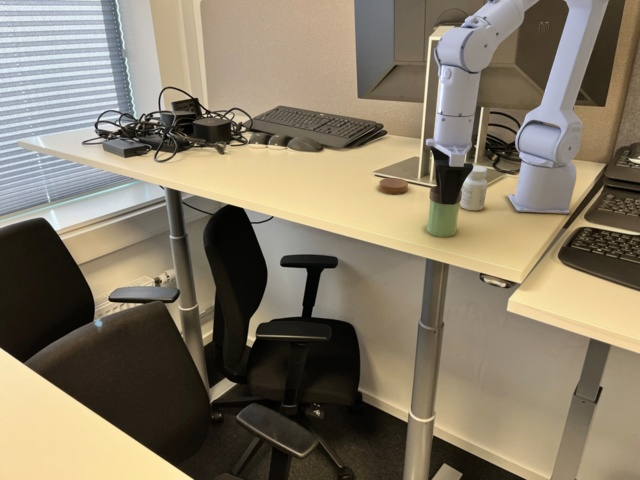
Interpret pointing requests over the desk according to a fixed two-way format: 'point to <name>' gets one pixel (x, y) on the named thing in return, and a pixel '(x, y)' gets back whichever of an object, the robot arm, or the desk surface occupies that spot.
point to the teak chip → (393, 186)
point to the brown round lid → (436, 195)
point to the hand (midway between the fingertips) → (445, 195)
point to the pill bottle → (474, 189)
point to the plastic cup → (442, 219)
